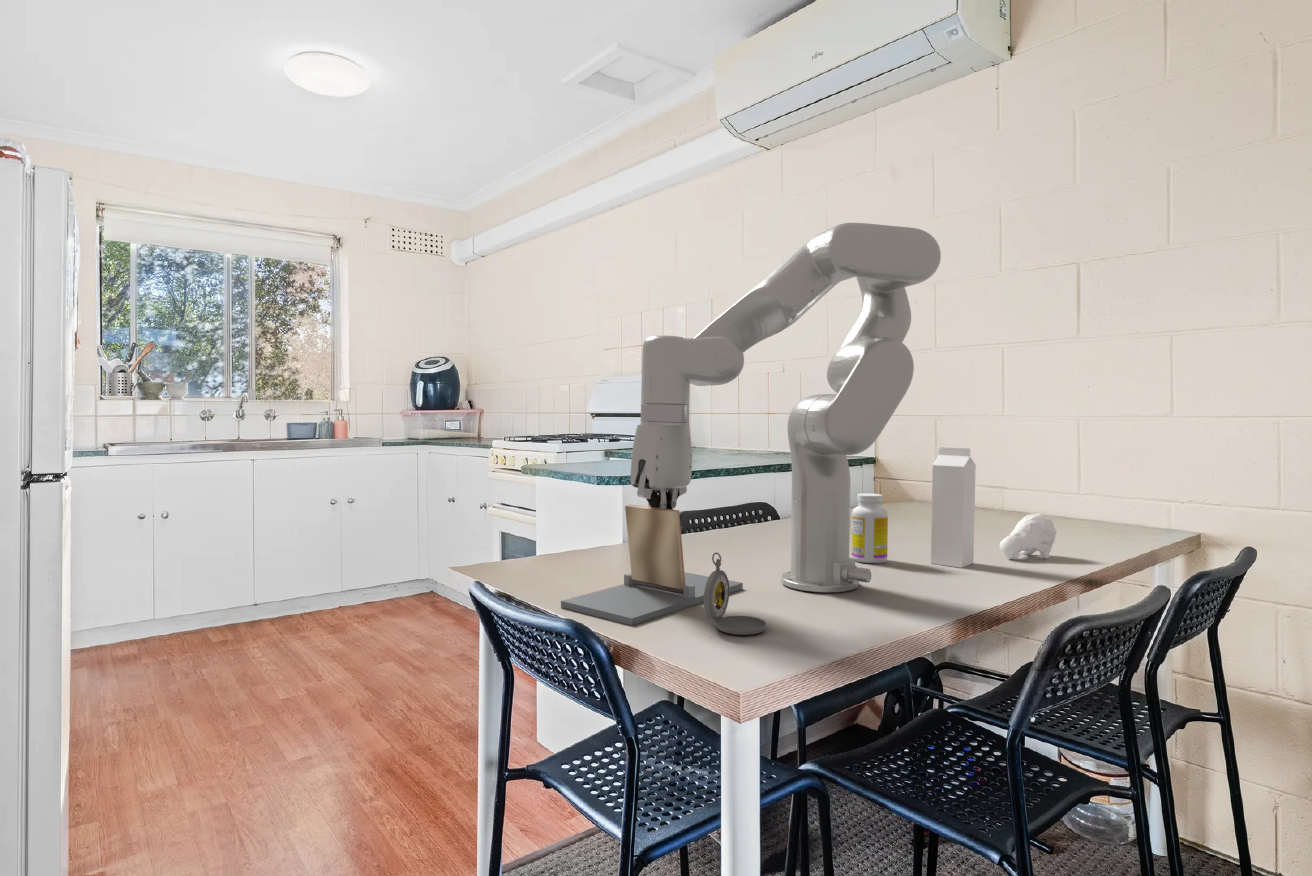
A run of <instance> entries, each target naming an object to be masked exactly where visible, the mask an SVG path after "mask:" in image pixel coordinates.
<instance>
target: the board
mask: <svg viewBox="0 0 1312 876" xmlns="http://www.w3.org/2000/svg"><path fill="white" fill-rule="evenodd" d="M684 574H685V586H683V595H682V594H677V593H672V592H667V591H662V590H658V589H653V588H648V587H643V586H638V585H634V584H633V583H632V581H633V579H632V574H631V572H629V573H624V574H623V583H622V584H619V585H615V586H612V587H608V588H604V589H600V590H597V591H592V592H589V593H585V594H581V595H576V596H574V597H570V598H566V599H563V600H562V599H561V600H560V608H561V609H565V610H568V611H574V612H575V613H576V612H577V613H582V614H586V615H589V616H592V617H597V618H600V619H603V620H608V621H612V622H616V623H620V624H624V625H628V626H631V627H633V626H635V625H638V624H641V623H644V622H647V621H650V620H653V619H656V618H660V617H663V616H665V615H668V614H670V613H674V612H677V611H680V610H684V609H686V608H690V607H693V606H696V605H698V604H701V603H704V592H705V586H706V583H707V580H708V578H709V576H707V575H703V574H702V575H701V574H697V573H692V572H685V571H684ZM728 581H729V594H731V593H734V592H737V591H741V590H743V588H744V587H743V586H744V585H743V584H744V583H743V582H740V581H735V580H729V579H728ZM715 599H717V596H716V598H715Z"/></svg>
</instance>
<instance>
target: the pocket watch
mask: <svg viewBox="0 0 1312 876" xmlns="http://www.w3.org/2000/svg"><path fill="white" fill-rule="evenodd" d="M715 555H718V558H717V559H716V560H714V559H715V558H714V557H715ZM711 561H712V563H713V564H714V566H715V568H716V569H715V570H714V571H712V572H711V573H710V574H709V576H708V577H709V578H708V580H707V583H706V586H705V592H704V602H703V607H704V612H705V614H706V617H707V618H708V619H710V620H712V621H714V622H715V626H716V628H717V630H719V631H721V632H724V633H726V634H731V635H737V636H748V635H749V636H750V635H756V634H760V633H762V632H764V631H766V629H767V622H766V621H765V620H763V619H760V618H758V617H754V616H748V615H747V616H746V615H730V616H724V614H725V613H726V610H727V608H728V605H729V600H730V593H729V581H728V580H729V578H728V575H727V573H726V572H725V571H724V570H722V569H721V568H720V567H721V565H722V556H721V554H720V553H719V552H714V553H713V554H712V556H711ZM716 596H717V598H716Z"/></svg>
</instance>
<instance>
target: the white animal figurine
mask: <svg viewBox="0 0 1312 876" xmlns="http://www.w3.org/2000/svg"><path fill="white" fill-rule="evenodd" d="M1057 534H1058V533H1057V529H1056V528H1055V526H1054V523H1053V521H1052V519H1051V518H1049V517H1048V516H1046V515H1044V514H1043V513H1030V514H1026V515H1025V516H1024V517H1023V518H1021V519H1020V520H1019V521H1018V522H1017V524H1016V525H1015V527H1014V529H1013V530H1012V531H1011V532H1010V534H1009V535H1007V536H1006V537H1004V538H1003V539H1002V540H1001V541H1000V543H999V550H1000V551H1001V552H1002V553H1003V555H1004V557H1005V558H1006V560H1008V561H1009V560H1013V559H1015V560H1016V559H1017V560H1020V557H1022V556H1026V555H1028V556H1029V555H1032V554H1034V553H1036V552H1039V554H1040V556H1041V558H1043V559H1044V560H1048V559H1049V558H1050V553H1051V552H1052V547H1053V545H1054V543H1055V541H1056V536H1057Z"/></svg>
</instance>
